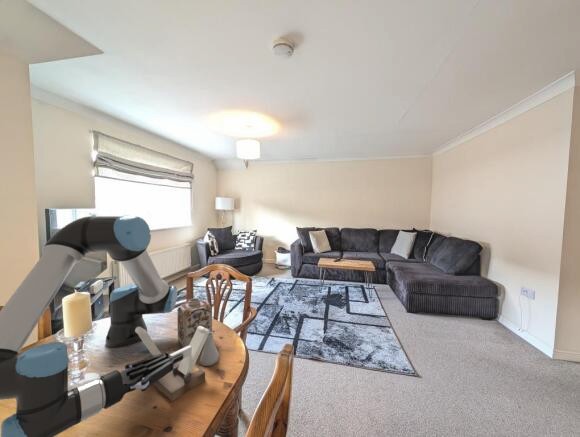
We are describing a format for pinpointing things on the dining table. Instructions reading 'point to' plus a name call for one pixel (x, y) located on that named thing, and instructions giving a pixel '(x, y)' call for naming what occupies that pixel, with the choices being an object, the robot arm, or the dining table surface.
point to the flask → (209, 352)
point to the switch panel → (178, 380)
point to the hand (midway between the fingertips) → (190, 350)
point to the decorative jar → (193, 319)
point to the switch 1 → (147, 341)
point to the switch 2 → (194, 350)
